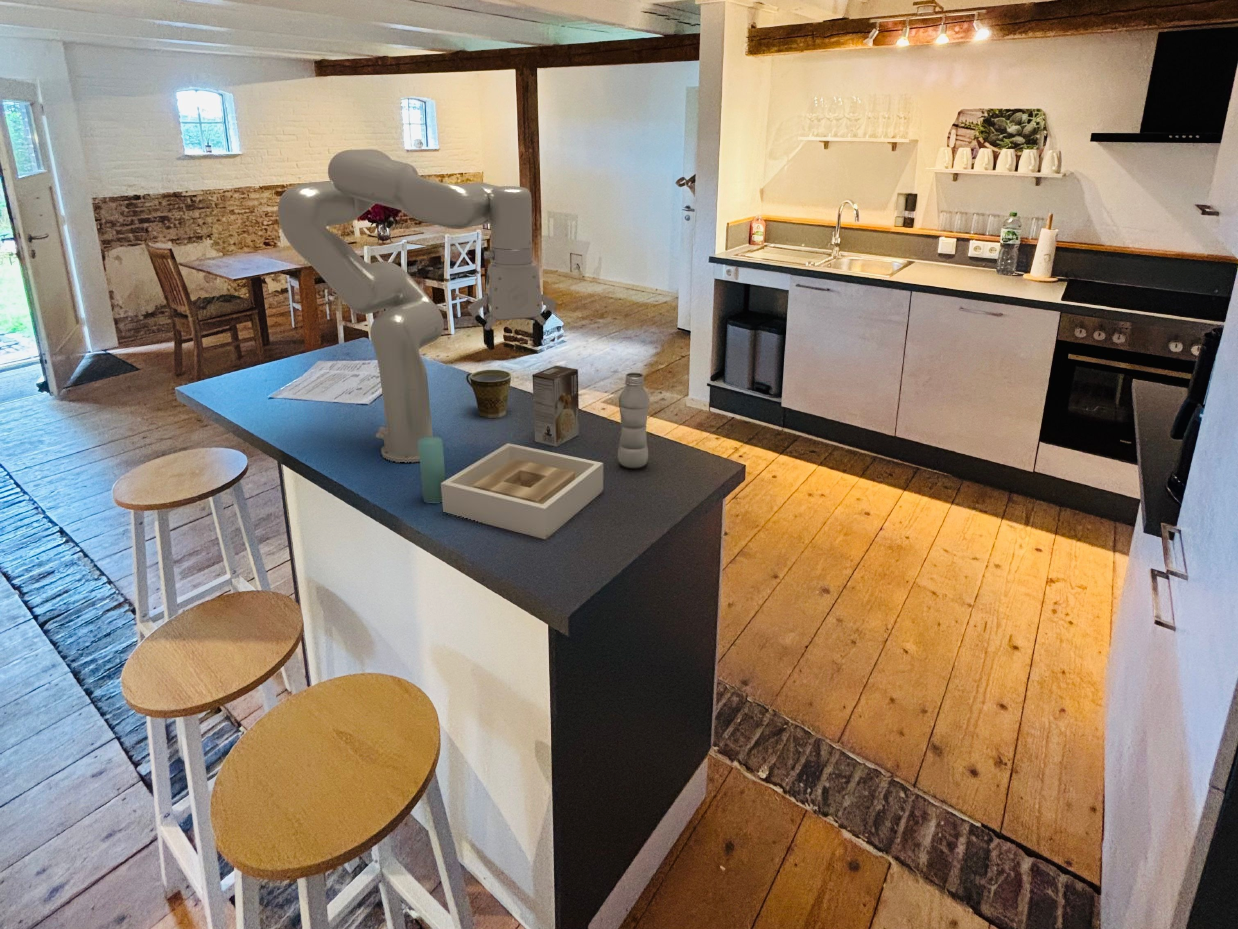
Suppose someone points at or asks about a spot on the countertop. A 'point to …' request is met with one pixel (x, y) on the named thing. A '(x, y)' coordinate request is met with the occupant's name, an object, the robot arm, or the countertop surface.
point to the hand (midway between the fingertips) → (514, 346)
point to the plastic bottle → (633, 422)
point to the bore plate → (526, 481)
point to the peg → (431, 467)
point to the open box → (517, 511)
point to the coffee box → (556, 405)
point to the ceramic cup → (490, 391)
